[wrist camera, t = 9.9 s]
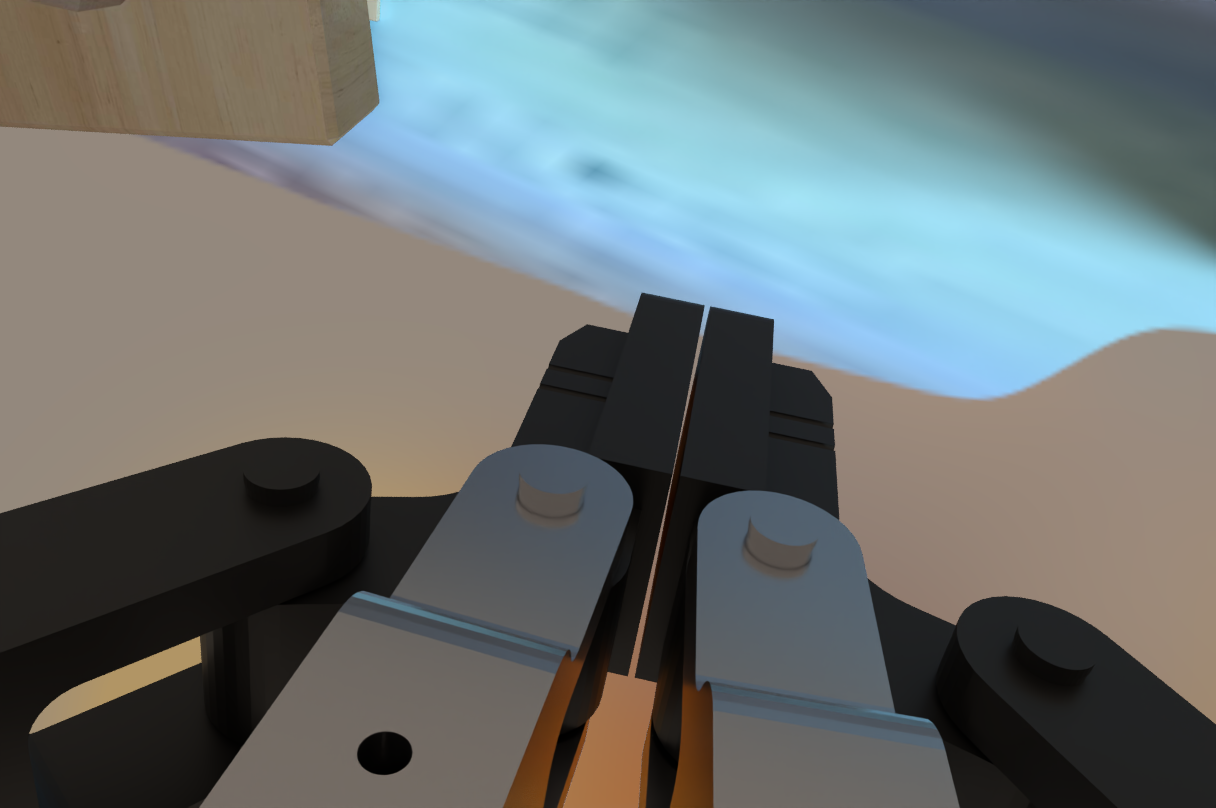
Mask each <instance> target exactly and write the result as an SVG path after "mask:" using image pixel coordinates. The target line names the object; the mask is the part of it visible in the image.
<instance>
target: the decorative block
mask: <svg viewBox="0 0 1216 808" xmlns="http://www.w3.org/2000/svg"><path fill="white" fill-rule="evenodd" d="M378 104H379V95H378V87H377V78H376V70H375V62H374V54H373V46H372V37H371V29H370V21H369V13H368V4H367V0H0V126H2V127H19V128H36V129H53V130H69V131H70V130H71V131H86V132H103V133H120V134H138V135H156V136H174V137H191V138H209V139H227V140H244V141H260V142H277V143H294V144H311V145H328V146H332V145H333V144H334V143H336V142H337V141H338V140H339V139H340V138H341V137H343V136H344V135H345V134H346V133H347V132H348V131H350V130H351V129H352V128H353V127H354V126H355V125H356V124H358V123H359V122H360V121H361V120H362V119H363V118H365V117H366V116H367V115H368V114H369V113H370V112H372V111H373V110H374V108H375V107H376V106H377V105H378Z"/></svg>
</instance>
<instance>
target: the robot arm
mask: <svg viewBox="0 0 1216 808" xmlns="http://www.w3.org/2000/svg"><path fill="white" fill-rule="evenodd" d="M704 306H705V305H700V304H695V303H691V302H686V301H681V300H676V299H671V298H666V297H661V296H657V295H652V294H647V293H642V294H641V296H640V299H639V302H638V305H637V308H636V311H635V314H634V317H633V320H632V324H631V327H630V330H629V333H626V332H621V331H616V330H611V329H607V328H602V327H597V326H592V325H586V326H584V327H582V328H581V329H579V330H577V331H575V332H574V333H572V334H570V335H568V336H567V337H565V338H563V339H562V340H560V341H559V344H558V346H557V348H556V350H555V352H554V354H553V356H552V359H551V361H550V363H549V367H548V369H547V370H546V372H545V374H544V376H543V379H542V381H541V383H540V387H539V388H538V389H537V392H536V394H535V396H534V398H533V401H532V402H531V405H530V407H529V409H528V411H527V413H526V416H525V418H524V420H523V423H522V424H521V427H520V429H519V431H518V433H517V436H516V438H515V440H514V442H513V444H512V446H511V447H510V448H506V449H503V450H500V451H497V452H496V453H494V454H492V455H490V456H488V457H486V458H485V459H484V460H482V461H481V462H480V463H479V464H478V465H477V466H476V467H475V469H474V470H473V471H472V473H471V474H470V476H469V477H468V479H467V481H466V482H465V484H464V485H463V487H462V488H461V490H460V491H459V492H456V493H452V494H447V495H440V496H432V497H371V491H372V483H371V479H370V475H369V474H368V472H367V470H366V468H365V467H364V466H363V465H362V464H361V462H360V461H359V460H358V459H356V458H355V457H354V456H352V455H351V454H349V453H347V452H346V451H344V450H342V449H340V448H338V447H335V446H332V445H330V444H327V443H323V442H319V441H314V440H309V439H302V438H267V439H260V440H254V441H250V442H245V443H241V444H238V445H234V446H231V447H227V448H224V449H220V450H217V451H213V452H210V453H207V454H203V455H200V456H196V457H193V458H189V459H186V460H183V461H179V462H176V463H172V464H169V465H166V466H162V467H159V468H155V469H152V470H149V471H145V472H141V473H138V474H134V475H131V476H128V477H124V478H121V479H117V480H114V481H110V482H107V483H103V484H100V485H96V486H93V487H89V488H86V489H83V490H80V491H76V492H72V493H69V494H66V495H62V496H58V497H55V498H52V499H48V500H45V501H41V502H38V503H34V504H31V505H28V506H24V507H21V508H17V509H14V510H10V511H7V512H4V513H0V808H563V806H564V803H565V800H566V797H567V794H568V791H569V788H570V785H571V782H572V779H573V776H574V773H575V770H576V767H577V764H578V761H579V758H580V755H581V752H582V749H583V746H584V743H585V739H586V735H587V730H588V725H589V720H590V717H591V716H592V715H593V714H594V712H595V711H596V709H597V708H598V706H599V704H600V701H601V698H602V694H603V689H604V685H605V680H606V676H607V672H611V673H616V674H620V675H624V676H628V673H629V668H630V664H631V659H632V655H633V650H634V645H635V641H636V636H637V632H638V628H639V623H640V619H641V614H642V609H643V605H644V600H645V595H646V591H647V587H648V582H649V578H650V573H651V569H652V564H653V560H654V555H655V551H656V546H657V542H658V537H659V533H660V528H661V523H662V519H663V515H664V510H665V505H666V500H667V496H668V492H669V487H670V483H671V478H672V474H673V468H674V463H675V458H676V453H677V447H678V441H679V437H680V432H681V427H682V421H683V416H684V411H685V406H686V400H687V395H688V390H689V384H690V380H691V374H692V369H693V364H694V359H695V353H696V348H697V343H698V338H699V333H700V327H701V322H702V317H703V312H704ZM773 332H774V319H769V318H764V317H760V316H755V315H750V314H745V313H740V312H735V311H730V310H726V309H721V308H716V307H711V306H710V310H709V314H708V318H707V322H706V327H705V331H704V336H703V340H702V345H701V350H700V354H699V358H698V363H697V367H696V372H695V377H694V381H693V385H692V390H691V395H690V399H689V404H688V408H687V413H686V417H685V422H684V426H683V431H682V436H681V440H680V445H679V450H678V454H677V459H676V464H675V469H674V474H673V479H672V484H671V489H670V494H669V500H668V505H667V510H666V516H665V521H664V526H663V531H662V537H661V542H660V547H659V552H658V558H657V563H656V568H655V574H654V579H653V585H652V589H651V595H650V600H649V605H648V610H647V616H646V621H645V626H644V632H643V637H642V642H641V648H640V653H639V658H638V663H637V668H636V674H635V678H639V679H644V680H648V681H652V682H657V686H656V692H655V698H654V704H653V709H652V714H651V718H650V722H649V726H648V730H647V734H646V739H645V743H644V747H643V752H642V764H641V778H640V793H639V807H638V808H1216V724H1215V723H1213V722H1212V721H1211V720H1210V719H1208V718H1207V717H1206V716H1205V715H1204V714H1202V713H1201V712H1200V711H1198V710H1197V709H1196V708H1195V707H1194V706H1192V705H1191V704H1190V703H1189V702H1188V701H1186V700H1185V699H1184V698H1183V697H1181V696H1180V695H1179V694H1178V693H1176V692H1175V691H1174V690H1173V689H1172V688H1170V687H1169V686H1168V685H1167V684H1165V683H1164V682H1163V681H1162V680H1160V679H1159V678H1157V676H1156V675H1154V674H1153V673H1152V672H1151V671H1149V670H1148V669H1147V668H1146V667H1144V666H1143V665H1142V664H1141V663H1140V662H1138V661H1137V660H1136V659H1135V658H1133V657H1132V656H1131V655H1130V654H1128V653H1127V652H1126V651H1125V650H1124V649H1122V648H1121V647H1120V646H1119V645H1117V644H1116V643H1115V642H1114V641H1112V640H1111V639H1110V638H1108V636H1106V635H1105V634H1103V633H1102V632H1101V631H1099V630H1098V629H1097V628H1095V627H1093V626H1092V625H1091V624H1089V623H1087V622H1086V621H1084V620H1082V619H1081V618H1079V617H1077V616H1075V615H1073V614H1071V613H1069V612H1067V611H1065V610H1062V609H1060V608H1057V607H1054V606H1052V605H1049V604H1046V603H1042V602H1039V601H1036V600H1031V599H1026V598H1020V597H1008V596H1004V597H991V598H986V599H982V600H980V601H977V602H975V603H973V604H971V605H970V606H969V607H967V608H966V609H965V610H964V611H963V613H962V615H961V616H960V618H959V620H958V622H957V624H956V625H953V624H951V623H949V622H947V621H944V620H942V619H940V618H937V617H935V616H933V615H931V614H929V613H926V612H924V611H922V610H919V609H917V608H915V607H913V606H911V605H909V604H906V603H904V602H903V601H901V600H898V599H897V598H895V597H893V596H892V595H890V594H889V593H887V592H885V591H883V590H882V589H881V588H879V587H878V586H877V585H876V584H874V583H873V582H872V581H870V580H869V579H868V578H867V574H866V569H865V564H864V559H863V554H862V552H861V548H860V545H859V544H858V542H857V540H856V539H855V537H854V536H853V534H852V533H851V532H850V531H849V530H848V528H847V527H846V526H845V525H843V524H842V523H841V522H840V521H839V507H838V491H837V475H836V457H835V451H834V447H835V442H834V441H835V440H834V429H833V424H834V423H833V406H832V397H831V396H830V394H829V393H828V392H827V390H826V389H825V388H824V386H823V385H822V384H821V382H820V381H819V380H818V379H817V377H816V376H815V375H814V373H813V372H812V371H809V370H805V369H800V368H795V367H790V366H785V365H780V364H776V363H772V353H773ZM199 636H200V643H201V659H202V663H199V664H197V665H195V666H192V667H190V668H188V669H185V670H183V671H180V672H178V673H176V674H173V675H171V676H168V677H166V678H164V679H161V680H159V681H157V682H154V683H152V684H149V685H147V686H145V687H142V688H140V689H137V690H135V691H133V692H130V693H128V694H126V695H123V696H121V697H119V698H116V699H114V700H111V701H109V702H107V703H104V704H102V705H99V706H97V707H95V708H92V709H90V710H88V711H85V712H83V713H80V714H78V715H76V716H74V717H71V718H69V719H66V720H64V721H61V722H59V723H57V724H54V725H52V726H50V727H47V728H45V729H42V730H40V731H38V732H35V733H32V734H29V732H30V730H31V727H32V725H33V723H34V722H35V720H36V718H37V717H38V715H39V714H40V713H41V712H42V711H43V710H44V708H46V707H47V706H48V705H49V704H50V703H51V702H52V701H53V700H55V699H56V698H57V697H58V696H60V695H61V694H63V693H65V692H66V691H68V690H70V689H71V688H73V687H76V686H78V685H80V684H82V683H85V682H87V681H90V680H92V679H95V678H97V677H100V676H102V675H105V674H107V673H109V672H112V671H115V670H117V669H119V668H122V667H124V666H127V665H129V664H132V663H134V662H137V661H139V660H142V659H144V658H147V657H149V656H152V655H154V654H157V653H159V652H162V651H164V650H167V649H169V648H171V647H174V646H176V645H179V644H181V643H184V642H186V641H189V640H191V639H194V638H196V637H199Z"/></svg>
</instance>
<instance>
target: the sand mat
mask: <svg viewBox="0 0 1216 808" xmlns="http://www.w3.org/2000/svg"><path fill="white" fill-rule="evenodd" d="M367 4H368V13H369V20H372V21H378V20H379V18H380V0H367Z"/></svg>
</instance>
